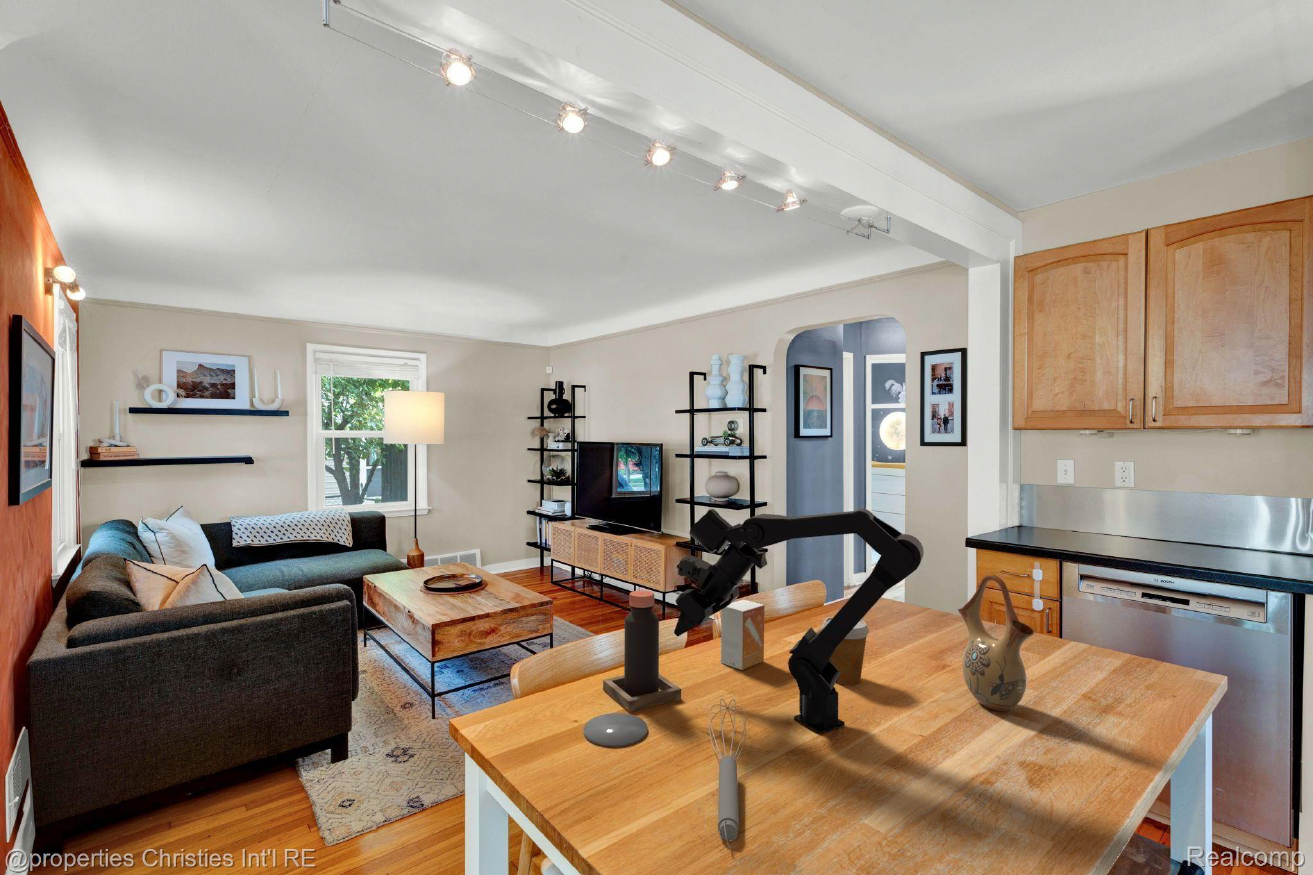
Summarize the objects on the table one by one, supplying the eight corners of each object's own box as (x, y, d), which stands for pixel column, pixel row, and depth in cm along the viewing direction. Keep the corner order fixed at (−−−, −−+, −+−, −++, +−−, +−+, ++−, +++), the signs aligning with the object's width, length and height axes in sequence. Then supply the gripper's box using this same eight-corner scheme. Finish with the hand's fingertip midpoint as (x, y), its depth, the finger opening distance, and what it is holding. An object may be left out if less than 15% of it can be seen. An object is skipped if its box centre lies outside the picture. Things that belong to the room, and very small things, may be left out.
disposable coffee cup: (862, 671, 135) (863, 616, 135) (873, 689, 126) (874, 630, 126) (817, 669, 136) (818, 614, 136) (825, 687, 127) (825, 628, 126)
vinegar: (644, 705, 118) (644, 599, 118) (617, 695, 122) (617, 594, 122) (665, 693, 123) (665, 592, 123) (638, 684, 128) (639, 587, 127)
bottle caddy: (681, 699, 121) (681, 688, 121) (628, 712, 115) (628, 701, 115) (652, 678, 131) (652, 669, 131) (603, 689, 125) (603, 679, 125)
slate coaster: (658, 736, 106) (658, 733, 106) (599, 753, 100) (599, 749, 100) (629, 711, 115) (629, 708, 115) (573, 724, 110) (573, 721, 110)
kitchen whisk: (704, 853, 77) (704, 802, 77) (710, 726, 111) (710, 690, 111) (754, 856, 76) (754, 805, 76) (744, 728, 110) (744, 692, 110)
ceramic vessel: (1049, 721, 112) (1051, 583, 112) (1010, 728, 109) (1011, 586, 109) (978, 686, 127) (979, 564, 127) (941, 691, 125) (942, 567, 125)
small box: (742, 671, 135) (742, 611, 135) (720, 663, 140) (720, 605, 139) (764, 661, 141) (765, 604, 141) (742, 654, 145) (743, 598, 145)
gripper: (717, 534, 130) (676, 589, 134) (678, 549, 113) (634, 611, 118) (758, 570, 126) (715, 625, 130) (724, 591, 109) (676, 654, 114)
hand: (686, 627), depth 123 cm, fingers open, 9 cm apart
